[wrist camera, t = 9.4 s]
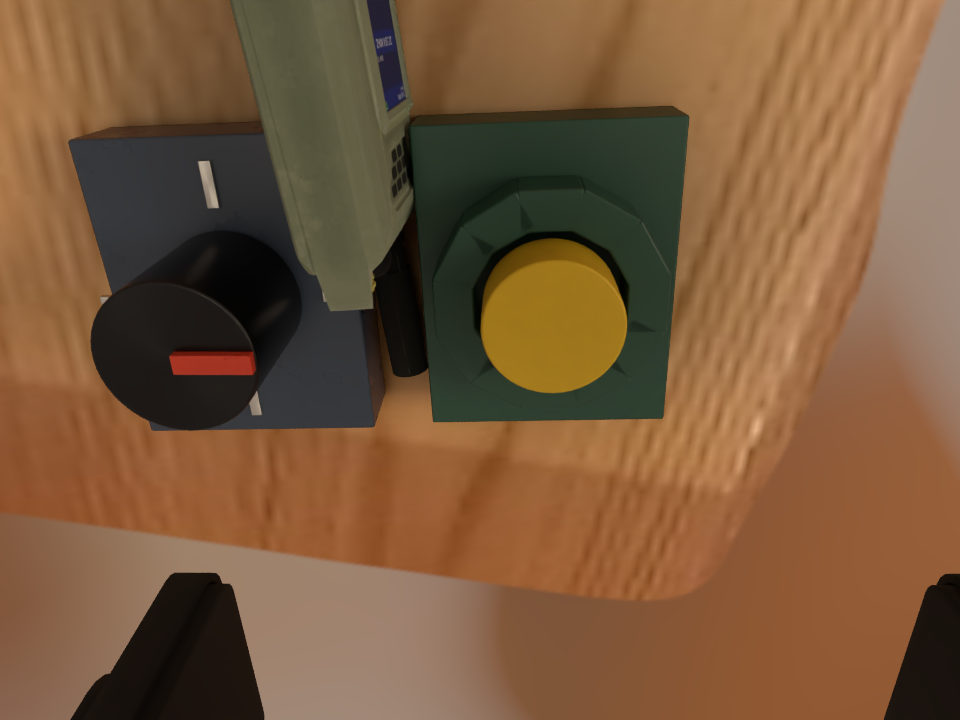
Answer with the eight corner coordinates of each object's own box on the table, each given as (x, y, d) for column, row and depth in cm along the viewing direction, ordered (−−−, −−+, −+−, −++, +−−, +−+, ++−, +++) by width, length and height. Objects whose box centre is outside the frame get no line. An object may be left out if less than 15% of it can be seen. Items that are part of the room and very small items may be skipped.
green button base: (417, 115, 22) (400, 136, 19) (673, 105, 22) (705, 124, 18) (438, 392, 27) (427, 451, 23) (652, 388, 26) (674, 448, 23)
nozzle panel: (100, 127, 23) (52, 141, 20) (363, 117, 22) (346, 130, 20) (172, 397, 27) (140, 434, 25) (393, 393, 27) (382, 430, 24)
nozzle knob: (180, 359, 24) (107, 437, 19) (150, 230, 22) (62, 285, 17) (310, 359, 23) (266, 438, 19) (292, 229, 22) (238, 285, 17)
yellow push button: (480, 239, 20) (477, 262, 19) (620, 235, 20) (631, 257, 18) (485, 363, 22) (483, 395, 20) (614, 360, 22) (624, 393, 20)
